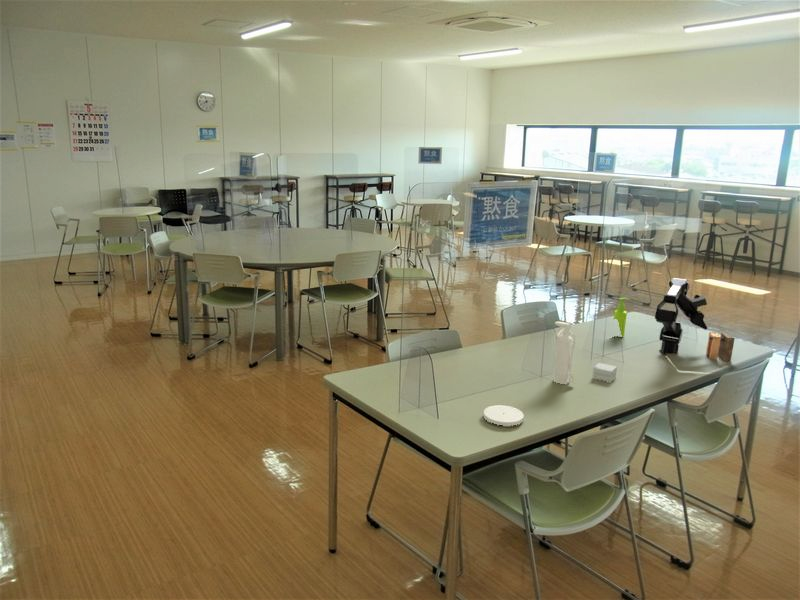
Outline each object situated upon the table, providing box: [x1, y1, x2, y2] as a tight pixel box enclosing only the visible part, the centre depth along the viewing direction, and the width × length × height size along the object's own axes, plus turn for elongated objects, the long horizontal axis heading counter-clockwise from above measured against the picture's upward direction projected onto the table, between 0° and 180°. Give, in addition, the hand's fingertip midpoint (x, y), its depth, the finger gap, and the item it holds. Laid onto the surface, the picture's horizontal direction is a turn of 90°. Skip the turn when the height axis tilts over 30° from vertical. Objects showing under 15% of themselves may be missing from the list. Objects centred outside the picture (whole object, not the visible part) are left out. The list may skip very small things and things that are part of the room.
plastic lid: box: [483, 404, 525, 427], centre depth 220 cm, size 14×14×2 cm
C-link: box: [705, 331, 721, 361], centre depth 286 cm, size 3×6×11 cm, turn 172°
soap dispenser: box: [613, 297, 631, 338], centre depth 315 cm, size 6×7×20 cm
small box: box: [592, 362, 618, 383], centre depth 261 cm, size 8×8×5 cm
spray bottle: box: [553, 321, 576, 385], centre depth 252 cm, size 7×12×25 cm, turn 29°
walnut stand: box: [708, 332, 736, 362], centre depth 286 cm, size 9×8×12 cm
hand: (703, 326), depth 291 cm, fingers open, 9 cm apart
